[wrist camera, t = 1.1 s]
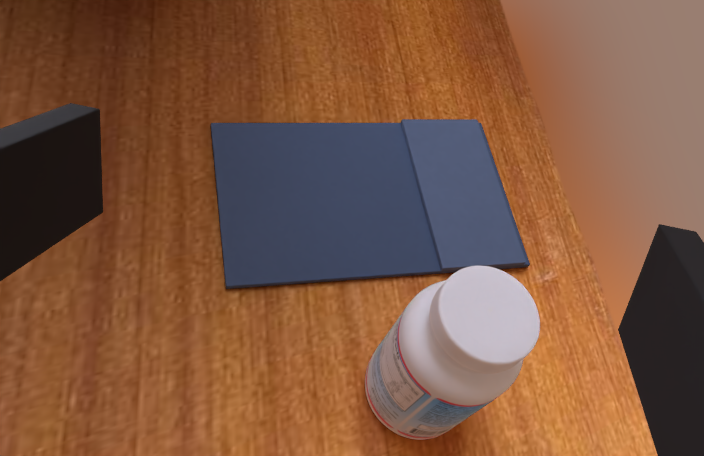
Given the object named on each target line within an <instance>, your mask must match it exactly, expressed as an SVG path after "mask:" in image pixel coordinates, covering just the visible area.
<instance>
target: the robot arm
mask: <svg viewBox="0 0 704 456" xmlns="http://www.w3.org/2000/svg"><path fill="white" fill-rule="evenodd" d="M101 213H103V196H102V166H101V135H100V109H96V108H92V107H87V106H82V105H77V104H72V103H70V104H67V105H65V106H62V107H59V108H56V109H54V110H51V111H48V112H45V113H43V114H40V115H37V116H34V117H32V118H29V119H26V120H23V121H21V122H18V123H15V124H13V125H10V126H7V127H4V128H2V129H0V281H1V280H3V279H4V278H6V277H7V276H9V275H10V274H12V273H13V272H15V271H16V270H18V269H19V268H21V267H22V266H24V265H25V264H27V263H28V262H29V261H31V260H32V259H34V258H35V257H37V256H38V255H40V254H41V253H43V252H44V251H46V250H47V249H49V248H50V247H52V246H53V245H55V244H56V243H58V242H59V241H61V240H62V239H64V238H65V237H67V236H68V235H70V234H71V233H73V232H74V231H76V230H77V229H79V228H80V227H82V226H83V225H85V224H86V223H88V222H89V221H91V220H92V219H94V218H95V217H97V216H98V215H100V214H101ZM618 331H619V334H620V337H621V340H622V343H623V347H624V350H625V353H626V356H627V359H628V362H629V366H630V369H631V372H632V375H633V378H634V381H635V385H636V388H637V391H638V394H639V397H640V400H641V404H642V407H643V410H644V413H645V416H646V419H647V422H648V426H649V429H650V432H651V435H652V438H653V441H654V445H655V448H656V451H657V454H658V456H704V242H703V241H702V240H701V238H700V237H699V235H698V234H697V233H696V232H694V231H689V230H684V229H680V228H675V227H670V226H665V225H659V227H658V228H657V231H656V234H655V236H654V239H653V242H652V244H651V246H650V249H649V252H648V254H647V257H646V259H645V262H644V265H643V267H642V270H641V272H640V275H639V278H638V280H637V283H636V285H635V288H634V290H633V293H632V296H631V298H630V301H629V303H628V306H627V308H626V311H625V314H624V316H623V319H622V321H621V324H620V326H619V329H618Z"/></svg>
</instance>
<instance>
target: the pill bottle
mask: <svg viewBox="0 0 704 456" xmlns="http://www.w3.org/2000/svg"><path fill="white" fill-rule="evenodd" d="M539 331H540V319H539V314H538V310H537V307H536V304H535V302H534V300H533V298H532V297H531V295H530V294H529V292H528V291H527V289H526V288H525V287H524V286H523V285H522V284H521V283H520V282H519V281H518V280H516V279H515V278H514V277H512V276H511V275H509V274H508V273H506V272H504V271H502V270H499V269H497V268H493V267H489V266H470V267H466V268H463V269H461V270H458V271H457V272H455V273H454V274H452V275H451V276H450V277H449V278H448V279H447V280H446V281H441V282H438V283H435V284H432V285H430V286H428V287H427V288H425V289H423V290H422V291H421V292H419V293H418V294H417V295H416V296H415V297H414V298H413V299H412V301H411V302H410V303H409V304H408V306H407V307H406V308H405V310H404V311H403V313H402V314H401V315H400V317H399V318H398V319H397V321H396V322H395V324H394V325H393V326H392V328H391V329H390V331H389V332H388V333H387V335H386V336H385V338H384V339H383V340H382V342H381V343H380V344H379V346H378V347H377V349H376V350H375V352H374V353H373V355H372V357H371V359H370V361H369V364H368V367H367V370H366V375H365V390H366V396H367V399H368V402H369V405H370V407H371V409H372V411H373V412H374V414H375V415H376V417H377V418H378V419H379V420H380V421H381V422H382V423H383V425H385V426H386V427H387V428H388V429H390V430H391V431H393V432H394V433H396V434H398V435H400V436H403V437H406V438H409V439H416V440H424V439H431V438H435V437H437V436H440V435H442V434H444V433H446V432H447V431H449V430H450V429H452V428H453V427H455V426H456V425H458V424H459V423H461V422H462V421H464V420H465V419H467V418H468V417H469V416H471V415H472V414H474V413H475V412H477V411H478V410H480V409H481V408H483V407H484V406H486V405H487V404H489V403H490V402H492V401H493V400H494V399H496V398H497V397H499V396H500V395H501V394H503V393H504V392H505V391H506V390H507V389H509V387H510V386H511V385H512V384H513V383H514V381H515V380H516V378H517V376H518V375H519V372H520V370H521V367H522V364H523V358H525V357H526V356H527V355H528V354H529V353H530V352H531V351H532V349H533V348H534V346H535V344H536V342H537V339H538V337H539Z"/></svg>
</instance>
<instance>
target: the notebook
mask: <svg viewBox="0 0 704 456" xmlns="http://www.w3.org/2000/svg"><path fill="white" fill-rule="evenodd" d="M211 135H212V145H213V156H214V167H215V177H216V188H217V198H218V209H219V220H220V230H221V241H222V252H223V262H224V273H225V284H226V289H233V288H246V287H260V286H274V285H288V284H301V283H315V282H329V281H343V280H357V279H370V278H384V277H398V276H412V275H425V274H439V273H453V272H457V271H458V270H461V269H463V268H466V267H470V266H489V267H493V268H497V269H508V268H522V267H528V266H529V265H530V263H529V260H528V258H527V255H526V252H525V249H524V246H523V243H522V240H521V237H520V234H519V232H518V229H517V226H516V223H515V220H514V217H513V214H512V211H511V208H510V206H509V203H508V200H507V197H506V194H505V191H504V188H503V185H502V182H501V180H500V177H499V174H498V171H497V168H496V165H495V162H494V159H493V156H492V154H491V151H490V148H489V145H488V142H487V139H486V136H485V133H484V130H483V128H482V125H481V123H478V121H477V120H402V121H401V123H211Z"/></svg>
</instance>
